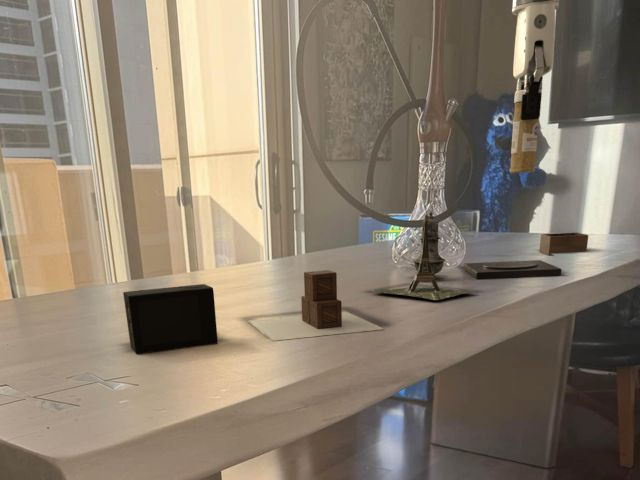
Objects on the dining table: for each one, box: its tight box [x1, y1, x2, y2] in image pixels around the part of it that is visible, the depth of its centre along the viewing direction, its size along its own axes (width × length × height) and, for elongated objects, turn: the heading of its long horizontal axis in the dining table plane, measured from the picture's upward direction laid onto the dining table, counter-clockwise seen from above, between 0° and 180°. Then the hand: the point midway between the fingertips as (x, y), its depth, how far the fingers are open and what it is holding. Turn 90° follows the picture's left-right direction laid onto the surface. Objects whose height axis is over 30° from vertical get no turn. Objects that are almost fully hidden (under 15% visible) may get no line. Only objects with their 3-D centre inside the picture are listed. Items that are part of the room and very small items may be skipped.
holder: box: [538, 232, 589, 256], centre depth 158 cm, size 8×8×4 cm
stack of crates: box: [247, 269, 384, 342], centre depth 93 cm, size 15×15×7 cm
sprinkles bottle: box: [509, 90, 543, 174], centre depth 125 cm, size 5×5×14 cm
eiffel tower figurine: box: [372, 206, 473, 301], centre depth 111 cm, size 15×10×13 cm
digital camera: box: [122, 283, 219, 355], centre depth 86 cm, size 10×5×7 cm, turn 110°
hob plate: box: [463, 259, 562, 280], centre depth 133 cm, size 15×15×2 cm
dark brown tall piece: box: [412, 211, 446, 283], centre depth 127 cm, size 6×6×12 cm
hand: (526, 119), depth 124 cm, fingers closed on sprinkles bottle, 4 cm apart
